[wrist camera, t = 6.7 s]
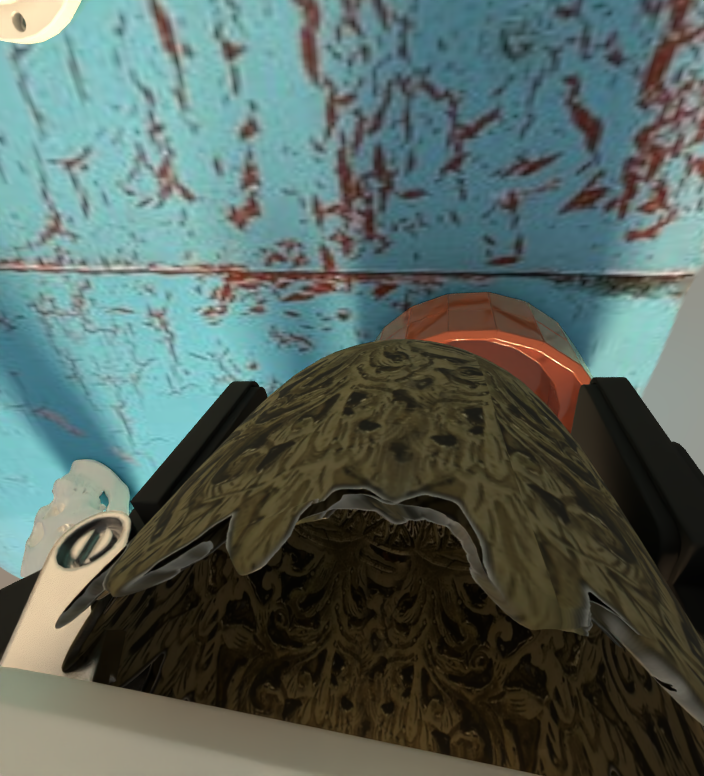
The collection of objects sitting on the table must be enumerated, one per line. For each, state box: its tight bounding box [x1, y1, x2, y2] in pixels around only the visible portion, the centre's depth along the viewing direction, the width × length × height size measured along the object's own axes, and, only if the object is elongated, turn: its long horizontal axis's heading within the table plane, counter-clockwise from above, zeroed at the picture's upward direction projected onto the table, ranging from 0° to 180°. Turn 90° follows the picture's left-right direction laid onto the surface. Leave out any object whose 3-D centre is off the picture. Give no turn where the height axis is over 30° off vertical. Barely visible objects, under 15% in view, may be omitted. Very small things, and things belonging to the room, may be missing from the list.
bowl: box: [375, 292, 593, 434], centre depth 29 cm, size 16×16×6 cm
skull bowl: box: [21, 459, 130, 577], centre depth 47 cm, size 10×14×12 cm
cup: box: [55, 339, 704, 776], centre depth 8 cm, size 7×7×8 cm
